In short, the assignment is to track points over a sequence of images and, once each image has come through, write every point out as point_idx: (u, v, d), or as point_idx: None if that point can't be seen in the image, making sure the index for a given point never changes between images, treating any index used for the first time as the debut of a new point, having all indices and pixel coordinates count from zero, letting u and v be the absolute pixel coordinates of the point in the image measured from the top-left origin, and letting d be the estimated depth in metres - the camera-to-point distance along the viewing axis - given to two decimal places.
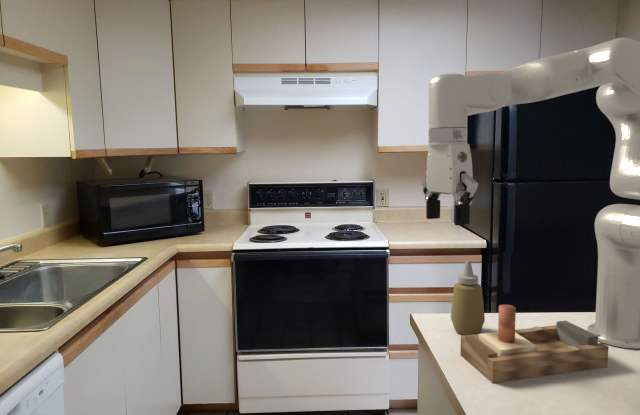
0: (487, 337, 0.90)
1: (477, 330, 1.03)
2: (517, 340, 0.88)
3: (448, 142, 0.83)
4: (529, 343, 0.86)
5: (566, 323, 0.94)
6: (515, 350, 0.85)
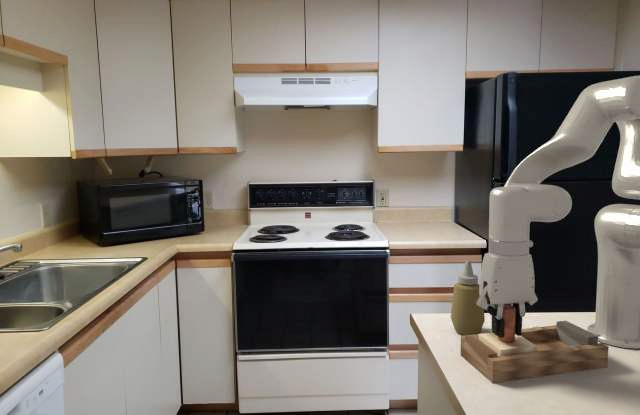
0: (487, 337, 0.90)
1: (477, 330, 1.03)
2: (517, 340, 0.88)
3: None
4: (529, 343, 0.86)
5: (566, 323, 0.94)
6: (515, 350, 0.85)
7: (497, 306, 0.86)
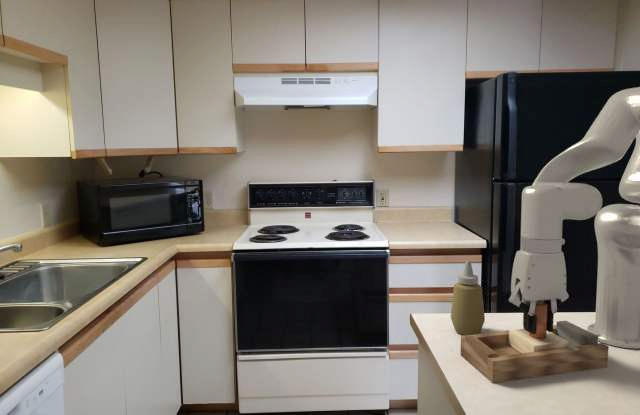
0: (518, 334, 0.91)
1: (477, 330, 1.03)
2: (548, 336, 0.89)
3: None
4: (561, 339, 0.88)
5: (566, 323, 0.94)
6: (548, 346, 0.86)
7: (529, 303, 0.87)
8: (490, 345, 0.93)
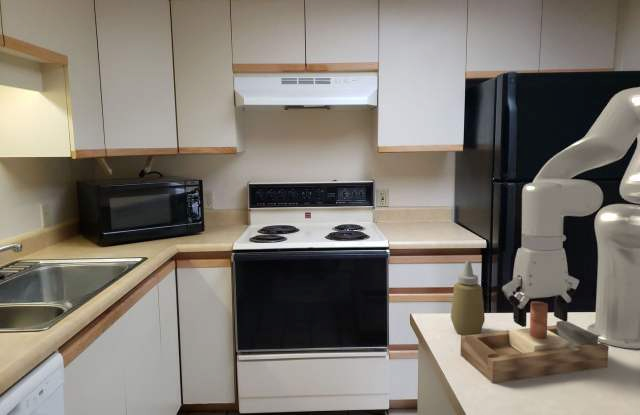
0: (518, 334, 0.91)
1: (477, 330, 1.03)
2: (549, 336, 0.89)
3: None
4: (561, 339, 0.88)
5: (566, 323, 0.94)
6: (548, 346, 0.86)
7: (524, 296, 0.87)
8: (490, 345, 0.93)
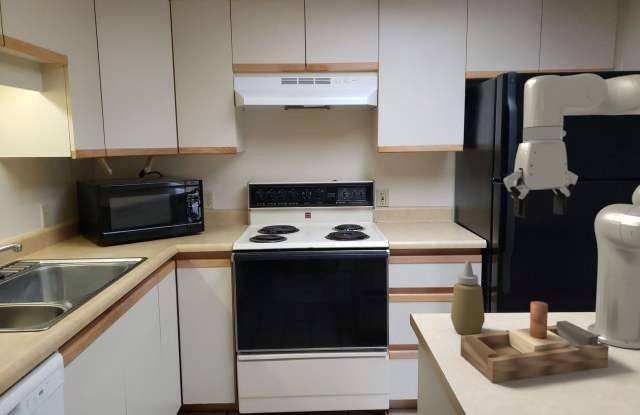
0: (518, 334, 0.91)
1: (477, 330, 1.03)
2: (549, 336, 0.89)
3: None
4: (561, 339, 0.88)
5: (566, 323, 0.94)
6: (548, 346, 0.86)
7: (525, 187, 0.90)
8: (490, 345, 0.93)
